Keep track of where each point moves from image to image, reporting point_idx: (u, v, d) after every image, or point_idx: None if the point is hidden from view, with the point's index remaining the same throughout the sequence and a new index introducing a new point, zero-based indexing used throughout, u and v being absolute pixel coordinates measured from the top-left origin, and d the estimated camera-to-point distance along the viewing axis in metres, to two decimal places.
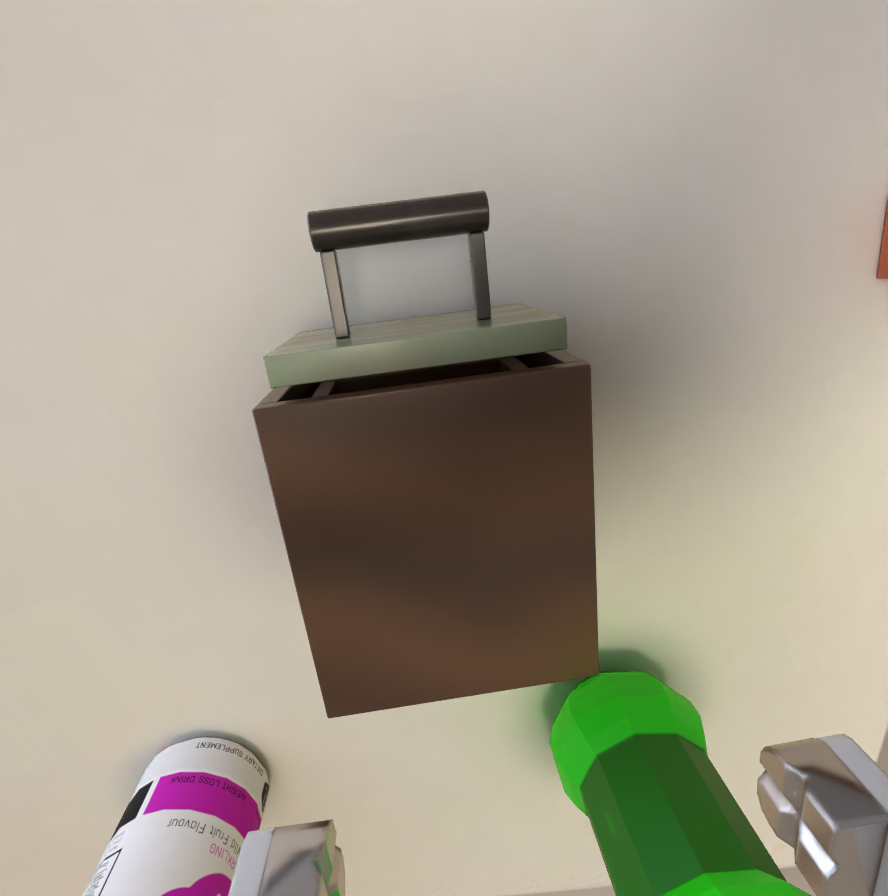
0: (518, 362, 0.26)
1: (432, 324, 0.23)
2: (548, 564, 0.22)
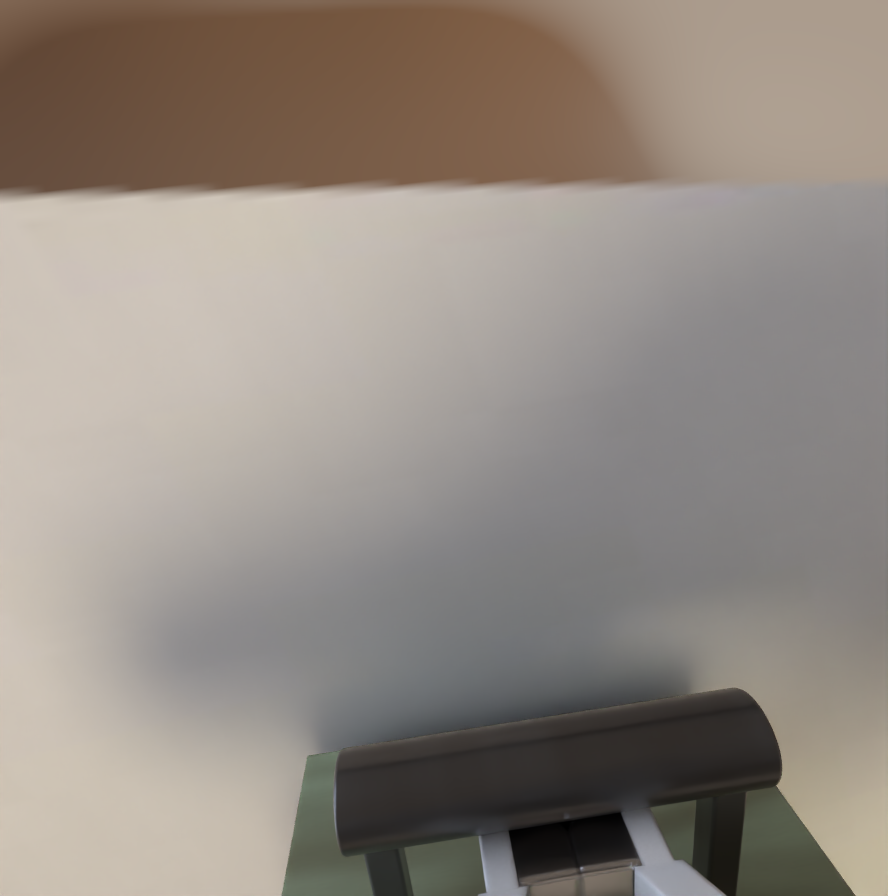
0: None
1: None
2: None
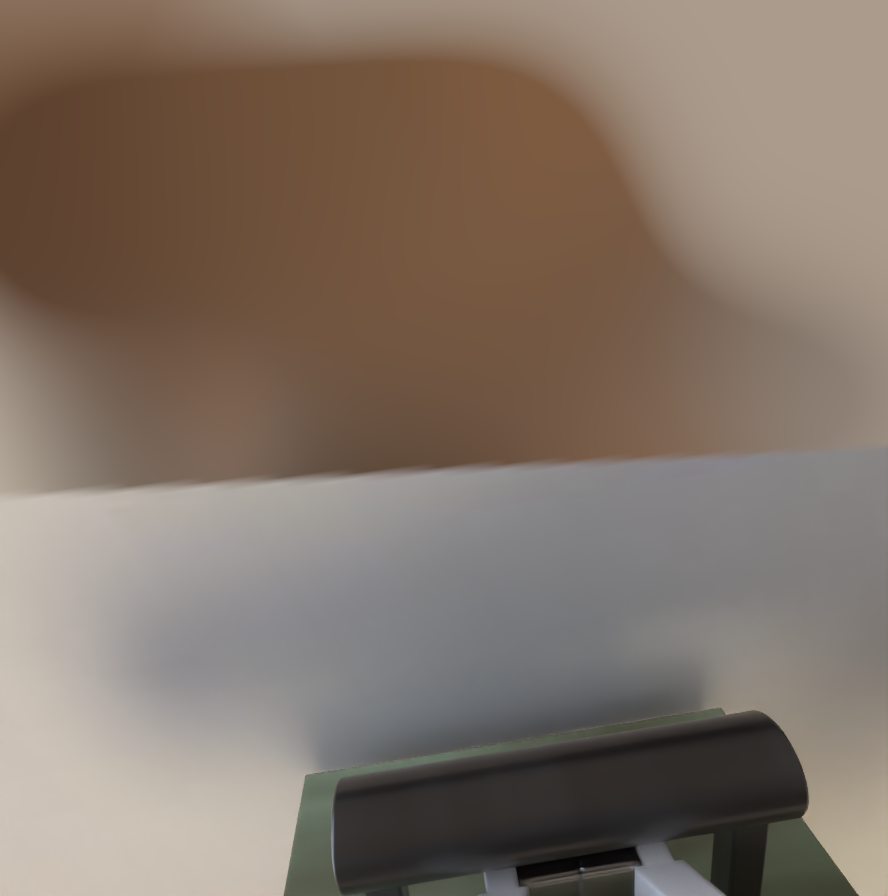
0: None
1: None
2: None
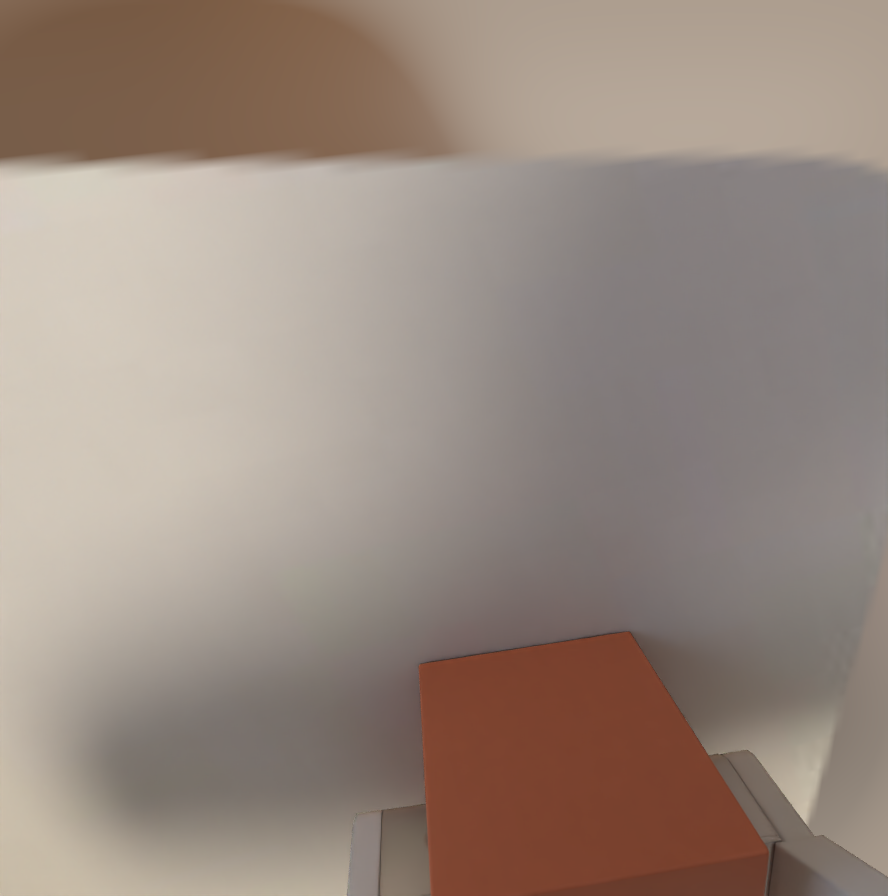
0: None
1: None
2: None
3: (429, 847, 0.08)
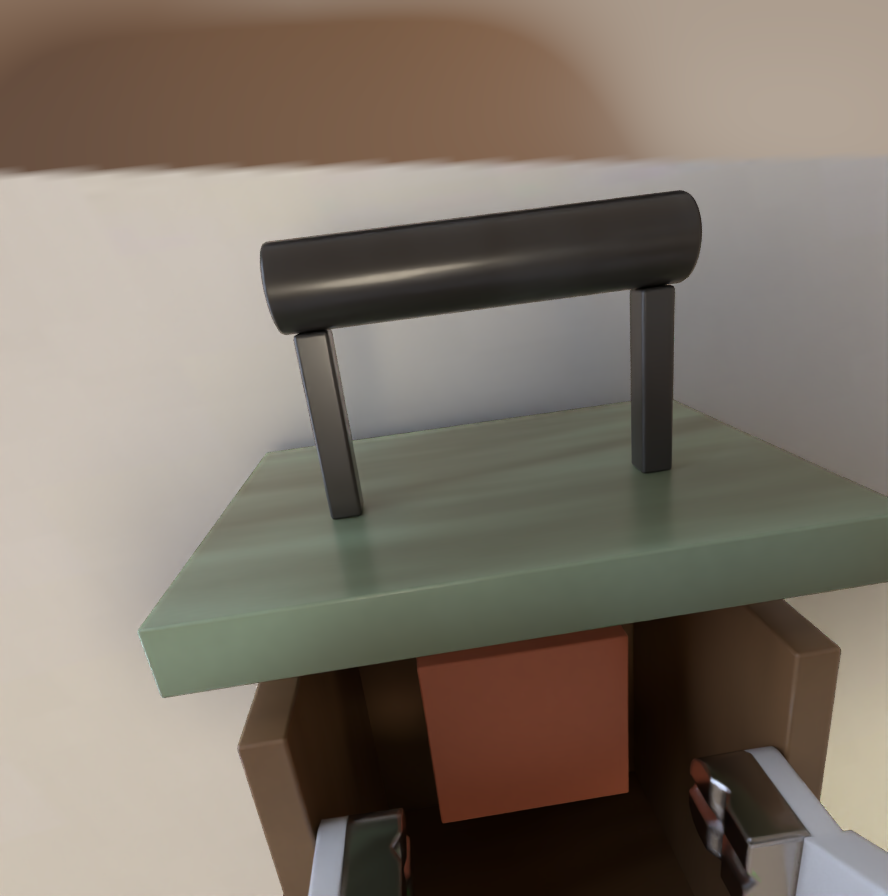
0: None
1: (536, 474, 0.11)
2: None
3: None
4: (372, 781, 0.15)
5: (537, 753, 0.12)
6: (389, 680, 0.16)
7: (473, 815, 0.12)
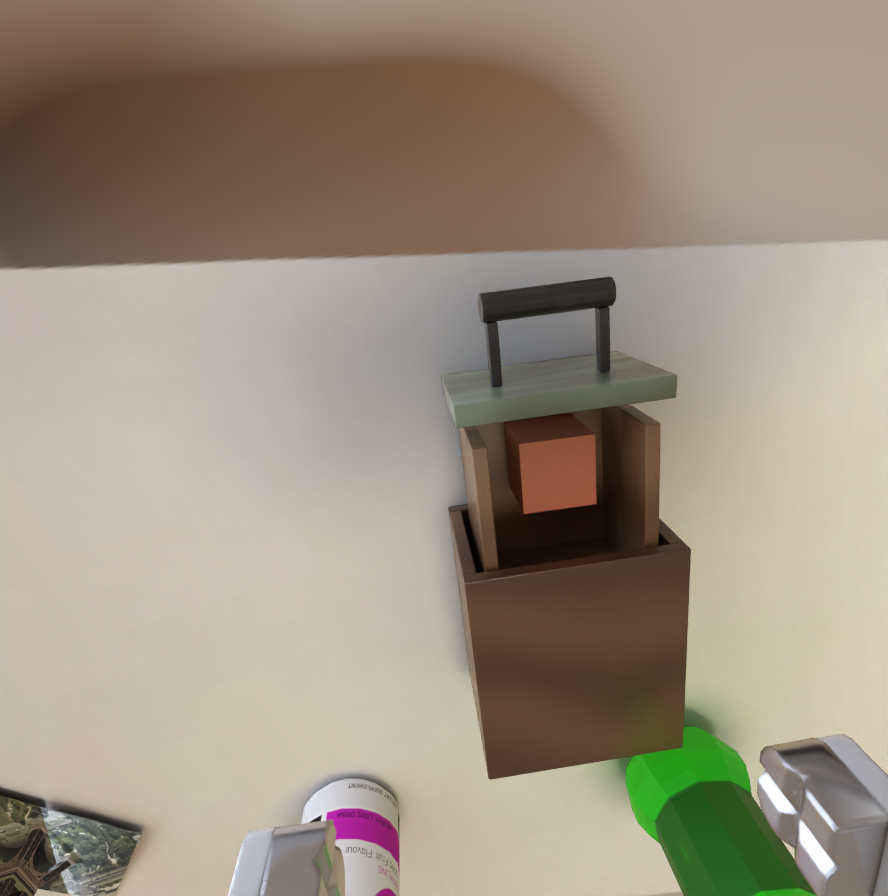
0: None
1: (562, 374, 0.30)
2: (652, 674, 0.32)
3: (515, 441, 0.31)
4: None
5: (561, 483, 0.31)
6: (490, 482, 0.35)
7: (535, 512, 0.31)
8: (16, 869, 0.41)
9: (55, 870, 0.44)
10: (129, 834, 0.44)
